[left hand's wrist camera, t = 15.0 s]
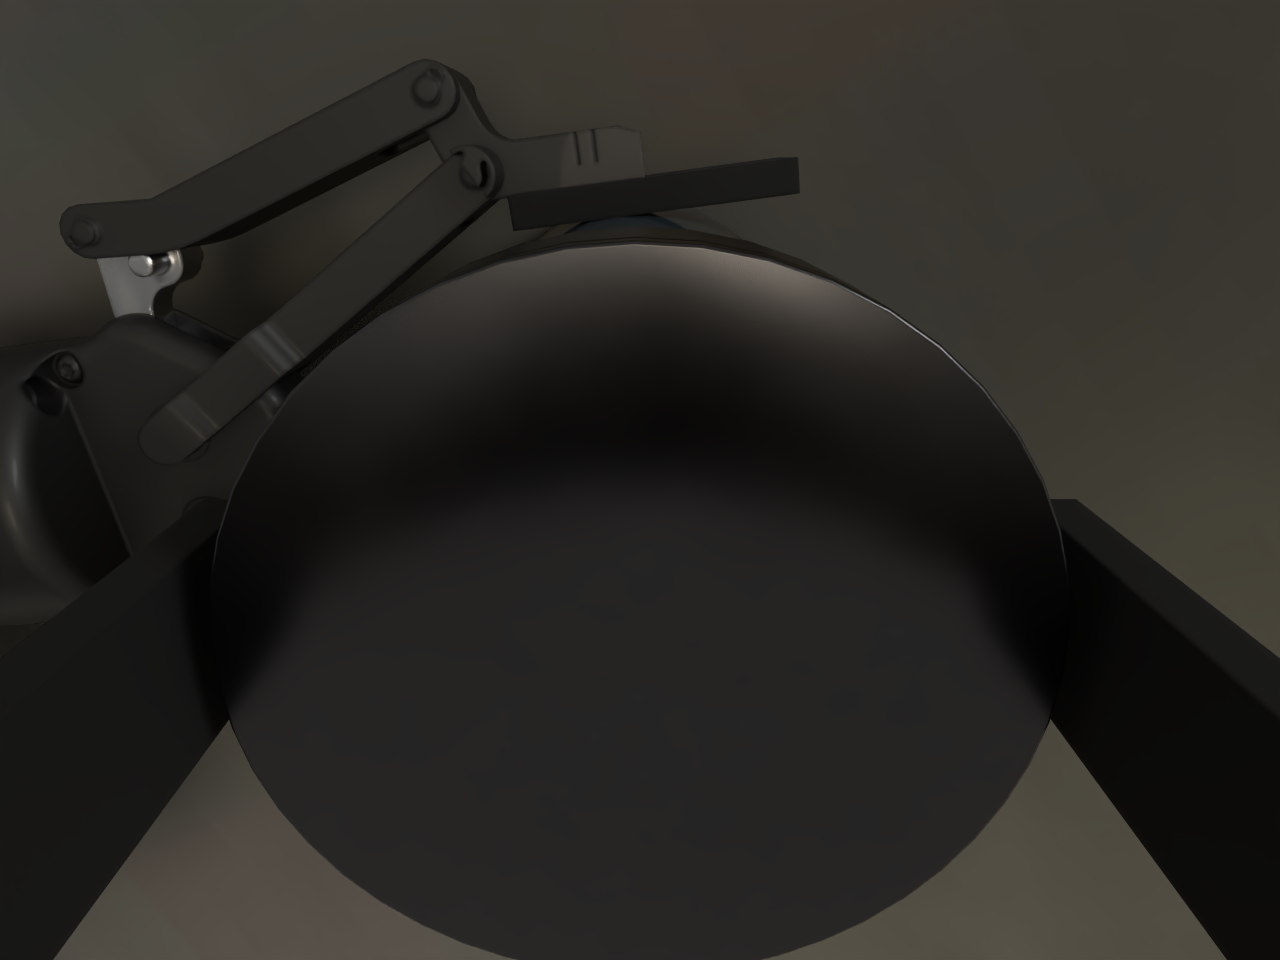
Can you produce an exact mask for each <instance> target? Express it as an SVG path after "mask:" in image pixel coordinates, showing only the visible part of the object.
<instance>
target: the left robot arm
mask: <svg viewBox="0 0 1280 960" xmlns="http://www.w3.org/2000/svg"><path fill="white" fill-rule="evenodd" d="M228 500H229V499H204V500H202V501H201V502H200V503H198V504H197V505H196V506H195V507H193V508H192V509H191V510H190V511H188V512H187V513H186V514H184V515H183V516H182V517H181V518H179V519H178V520H177V521H175V522H174V523H173V524H172V525H170V526H169V527H168V528H166V529H165V530H164V531H163V532H161V533H160V534H159V535H158V536H156V537H155V538H154V539H152V540H151V541H150V542H149V543H147V544H146V545H145V546H143V547H142V548H141V549H140V550H138V551H137V552H136V553H135V554H133V555H132V556H131V557H129V558H128V559H127V560H126V561H124V562H123V563H122V564H120V565H119V566H118V567H117V568H115V569H114V570H113V571H111V572H110V573H109V574H108V575H106V576H105V577H104V578H103V579H101V580H100V581H99V582H97V583H96V584H95V585H94V586H92V587H91V588H90V589H88V590H87V591H86V592H85V593H83V594H82V595H81V596H79V597H78V598H77V599H76V600H74V601H73V602H72V603H71V604H69V605H68V606H67V607H65V608H64V609H63V610H62V611H60V612H59V613H58V614H56V615H55V616H54V617H53V618H51V619H50V620H49V621H47V622H46V623H45V624H44V625H42V626H41V627H40V628H39V629H37V630H36V631H35V632H33V633H32V634H31V635H30V636H28V637H27V638H26V639H24V640H23V641H22V642H21V643H19V644H18V645H17V646H16V647H14V648H13V649H12V650H10V651H9V652H8V653H7V654H5V655H4V656H3V657H1V658H0V960H53V959H54V958H55V956H56V955H57V954H58V952H59V951H60V949H61V948H62V947H63V945H64V944H65V943H66V941H67V940H68V938H69V937H70V936H71V934H72V933H73V932H74V930H75V929H76V928H77V926H78V925H79V923H80V922H81V921H82V919H83V918H84V917H85V915H86V914H87V913H88V911H89V910H90V908H91V907H92V906H93V904H94V903H95V902H96V900H97V899H98V898H99V896H100V895H101V893H102V892H103V891H104V889H105V888H106V887H107V885H108V884H109V883H110V881H111V880H112V878H113V877H114V876H115V874H116V873H117V872H118V870H119V869H120V868H121V866H122V865H123V863H124V862H125V861H126V859H127V858H128V857H129V855H130V854H131V853H132V851H133V850H134V848H135V847H136V846H137V844H138V843H139V842H140V840H141V839H142V837H143V836H144V835H145V833H146V832H147V831H148V829H149V828H150V827H151V825H152V824H153V822H154V821H155V820H156V818H157V817H158V816H159V814H160V813H161V812H162V810H163V809H164V807H165V806H166V805H167V803H168V802H169V801H170V799H171V798H172V797H173V795H174V794H175V792H176V791H177V790H178V788H179V787H180V786H181V784H182V783H183V782H184V780H185V779H186V777H187V776H188V775H189V773H190V772H191V771H192V769H193V768H194V767H195V765H196V764H197V762H198V761H199V760H200V758H201V757H202V756H203V754H204V753H205V751H206V750H207V749H208V747H209V746H210V745H211V743H212V742H213V741H214V739H215V738H216V736H217V735H218V734H219V732H220V731H221V730H222V728H223V727H224V726H225V724H226V723H227V721H228V720H229V717H228V714H227V711H226V708H225V704H224V701H223V698H222V695H221V692H220V689H219V686H218V682H217V676H216V670H215V664H214V658H213V652H212V646H211V640H210V603H209V587H210V580H211V573H212V566H213V559H214V552H215V546H216V539H217V535H218V531H219V528H220V525H221V522H222V519H223V516H224V512H225V509H226V506H227V503H228ZM1050 501H1051V504H1052V506H1053V509H1054V512H1055V515H1056V518H1057V521H1058V524H1059V527H1060V530H1061V536H1062V542H1063V548H1064V553H1065V559H1066V565H1067V571H1068V577H1069V616H1070V631H1069V638H1068V645H1067V652H1066V659H1065V665H1064V672H1063V678H1062V682H1061V685H1060V688H1059V691H1058V695H1057V698H1056V701H1055V705H1054V708H1053V711H1052V715H1051V718H1050V719H1051V720H1052V721H1053V723H1054V724H1055V726H1056V727H1057V728H1058V730H1059V731H1060V732H1061V734H1062V735H1063V736H1064V738H1065V739H1066V741H1067V742H1068V743H1069V745H1070V746H1071V747H1072V749H1073V750H1074V752H1075V753H1076V754H1077V756H1078V757H1079V758H1080V760H1081V761H1082V762H1083V764H1084V765H1085V767H1086V768H1087V769H1088V771H1089V772H1090V773H1091V775H1092V776H1093V777H1094V779H1095V780H1096V782H1097V783H1098V784H1099V786H1100V787H1101V788H1102V790H1103V791H1104V792H1105V794H1106V795H1107V797H1108V798H1109V799H1110V801H1111V802H1112V803H1113V805H1114V806H1115V807H1116V809H1117V810H1118V812H1119V813H1120V814H1121V816H1122V817H1123V818H1124V820H1125V821H1126V822H1127V824H1128V825H1129V827H1130V828H1131V829H1132V831H1133V832H1134V833H1135V835H1136V836H1137V837H1138V839H1139V840H1140V842H1141V843H1142V844H1143V846H1144V847H1145V848H1146V850H1147V851H1148V853H1149V854H1150V855H1151V857H1152V858H1153V859H1154V861H1155V862H1156V863H1157V865H1158V866H1159V868H1160V869H1161V870H1162V872H1163V873H1164V874H1165V876H1166V877H1167V878H1168V880H1169V881H1170V883H1171V884H1172V885H1173V887H1174V888H1175V889H1176V891H1177V892H1178V893H1179V895H1180V896H1181V898H1182V899H1183V900H1184V902H1185V903H1186V904H1187V906H1188V907H1189V908H1190V910H1191V911H1192V913H1193V914H1194V915H1195V917H1196V918H1197V919H1198V921H1199V922H1200V923H1201V925H1202V926H1203V928H1204V929H1205V930H1206V932H1207V933H1208V934H1209V936H1210V937H1211V939H1212V940H1213V941H1214V943H1215V944H1216V945H1217V947H1218V948H1219V949H1220V951H1221V952H1222V954H1223V955H1224V956H1225V958H1226V959H1227V960H1280V658H1279V657H1277V656H1276V655H1275V654H1273V653H1272V652H1271V651H1270V650H1268V649H1267V648H1266V647H1264V646H1263V645H1262V644H1261V643H1259V642H1258V641H1257V640H1256V639H1254V638H1253V637H1252V636H1250V635H1249V634H1248V633H1247V632H1245V631H1244V630H1243V629H1241V628H1240V627H1239V626H1238V625H1236V624H1235V623H1234V622H1232V621H1231V620H1230V619H1229V618H1227V617H1226V616H1225V615H1224V614H1222V613H1221V612H1220V611H1218V610H1217V609H1216V608H1215V607H1213V606H1212V605H1211V604H1209V603H1208V602H1207V601H1206V600H1204V599H1203V598H1202V597H1201V596H1199V595H1198V594H1197V593H1195V592H1194V591H1193V590H1192V589H1190V588H1189V587H1188V586H1186V585H1185V584H1184V583H1183V582H1181V581H1180V580H1179V579H1177V578H1176V577H1175V576H1174V575H1172V574H1171V573H1170V572H1169V571H1167V570H1166V569H1165V568H1163V567H1162V566H1161V565H1160V564H1158V563H1157V562H1156V561H1154V560H1153V559H1152V558H1151V557H1149V556H1148V555H1147V554H1145V553H1144V552H1143V551H1142V550H1140V549H1139V548H1138V547H1137V546H1135V545H1134V544H1133V543H1131V542H1130V541H1129V540H1128V539H1126V538H1125V537H1124V536H1122V535H1121V534H1120V533H1119V532H1117V531H1116V530H1115V529H1114V528H1112V527H1111V526H1110V525H1108V524H1107V523H1106V522H1105V521H1103V520H1102V519H1101V518H1099V517H1098V516H1097V515H1096V514H1094V513H1093V512H1092V511H1090V510H1089V509H1088V508H1087V507H1085V506H1084V505H1083V504H1082V503H1080V502H1079V501H1078V500H1076V499H1050Z"/></svg>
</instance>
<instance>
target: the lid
mask: <svg viewBox="0 0 1280 960" xmlns="http://www.w3.org/2000/svg"><path fill="white" fill-rule="evenodd" d="M209 603H210V640H211V646H212V652H213V658H214V664H215V670H216V676H217V682H218V686H219V689H220V692H221V695H222V698H223V701H224V704H225V708H226V711H227V714H228V717H229V720H230V723H231V726H232V729H233V731H234V733H235V735H236V737H237V739H238V741H239V743H240V745H241V747H242V749H243V751H244V753H245V755H246V757H247V760H248V762H249V764H250V766H251V768H252V770H253V771H254V773H255V774H256V776H257V777H258V779H259V780H260V782H261V783H262V785H263V786H264V788H265V789H266V791H267V792H268V794H269V795H270V797H271V798H272V800H273V801H274V803H275V804H276V806H277V807H278V809H279V810H280V811H281V812H282V813H283V815H284V816H285V817H286V818H287V819H288V820H289V822H290V823H291V824H292V825H293V826H294V827H295V828H296V830H297V831H298V832H299V833H300V834H301V835H302V837H303V838H304V839H305V840H306V841H307V842H308V843H309V844H310V845H311V846H312V847H313V848H314V849H315V850H316V851H317V852H318V853H320V854H321V855H322V856H323V857H324V858H325V859H326V860H327V861H328V862H329V863H331V864H332V865H333V866H334V867H335V868H336V869H337V870H338V871H339V872H340V873H342V874H343V875H344V876H345V877H347V878H348V879H350V880H351V881H352V882H354V883H355V884H356V885H358V886H359V887H361V888H362V889H363V890H365V891H366V892H368V893H369V894H370V895H372V896H373V897H374V898H376V899H377V900H379V901H380V902H382V903H384V904H385V905H387V906H389V907H391V908H392V909H394V910H396V911H398V912H399V913H401V914H403V915H405V916H406V917H408V918H410V919H412V920H413V921H415V922H417V923H419V924H420V925H423V926H425V927H427V928H429V929H432V930H434V931H436V932H438V933H441V934H443V935H445V936H447V937H450V938H452V939H454V940H457V941H459V942H461V943H464V944H467V945H470V946H473V947H476V948H479V949H482V950H485V951H488V952H491V953H494V954H497V955H500V956H503V957H506V958H511V959H515V960H764V959H768V958H772V957H776V956H780V955H783V954H786V953H789V952H792V951H795V950H797V949H800V948H803V947H806V946H809V945H812V944H815V943H818V942H821V941H823V940H826V939H828V938H830V937H832V936H834V935H836V934H839V933H841V932H843V931H845V930H847V929H849V928H852V927H854V926H856V925H858V924H860V923H862V922H865V921H866V920H868V919H870V918H872V917H873V916H875V915H877V914H878V913H880V912H882V911H883V910H885V909H887V908H888V907H890V906H892V905H893V904H895V903H897V902H899V901H900V900H902V899H904V898H905V897H907V896H908V895H909V894H911V893H912V892H913V891H915V890H916V889H917V888H919V887H920V886H921V885H923V884H924V883H925V882H927V881H928V880H929V879H931V878H932V877H933V876H935V875H936V874H937V873H939V872H940V871H941V870H942V869H944V868H945V867H946V866H947V865H948V864H949V863H950V862H951V861H952V860H953V859H954V858H955V857H956V856H957V855H958V854H959V853H961V852H962V851H963V850H964V849H965V848H966V847H967V846H968V845H969V844H970V843H971V842H972V841H973V840H974V839H975V838H976V837H977V836H978V835H979V834H980V832H981V831H982V830H983V829H984V828H985V826H986V825H987V824H988V823H989V822H990V820H991V819H992V818H993V817H994V816H995V814H996V813H997V812H998V811H999V810H1000V808H1001V807H1002V806H1003V805H1004V804H1005V802H1006V801H1007V799H1008V797H1009V796H1010V794H1011V793H1012V791H1013V790H1014V788H1015V787H1016V785H1017V783H1018V782H1019V780H1020V779H1021V777H1022V776H1023V774H1024V772H1025V771H1026V769H1027V768H1028V766H1029V765H1030V763H1031V760H1032V758H1033V756H1034V754H1035V752H1036V750H1037V748H1038V745H1039V743H1040V741H1041V739H1042V737H1043V735H1044V732H1045V730H1046V728H1047V726H1048V724H1049V721H1050V718H1051V715H1052V711H1053V708H1054V705H1055V701H1056V698H1057V695H1058V691H1059V688H1060V685H1061V682H1062V678H1063V672H1064V665H1065V659H1066V652H1067V645H1068V638H1069V631H1070V616H1069V577H1068V571H1067V565H1066V559H1065V553H1064V548H1063V542H1062V536H1061V530H1060V527H1059V524H1058V521H1057V518H1056V515H1055V512H1054V509H1053V506H1052V504H1051V501H1050V498H1049V495H1048V492H1047V489H1046V486H1045V483H1044V480H1043V478H1042V476H1041V474H1040V473H1039V471H1038V469H1037V467H1036V465H1035V463H1034V461H1033V459H1032V458H1031V456H1030V454H1029V452H1028V450H1027V448H1026V446H1025V444H1024V443H1023V441H1022V439H1021V437H1020V435H1019V433H1018V431H1017V430H1016V429H1015V427H1014V426H1013V425H1012V424H1011V422H1010V421H1009V420H1008V418H1007V417H1006V416H1005V414H1004V413H1003V412H1002V410H1001V409H1000V408H999V406H998V405H997V404H996V402H995V401H994V400H993V398H992V397H991V396H990V394H989V393H988V392H987V390H986V389H985V388H984V386H983V385H982V384H980V383H979V382H978V381H977V380H976V379H975V378H974V377H973V376H972V375H971V374H970V373H969V372H968V371H967V370H966V369H965V368H964V367H963V366H962V365H961V364H960V363H959V362H958V361H957V360H956V359H955V358H954V357H953V356H952V355H951V354H950V353H948V352H947V351H946V350H945V349H944V348H943V347H942V346H941V345H940V344H939V343H937V342H936V341H935V340H933V339H932V338H930V337H929V336H928V335H926V334H925V333H923V332H922V331H921V330H919V329H918V328H916V327H915V326H914V325H912V324H911V323H909V322H908V321H907V320H905V319H904V318H902V317H901V316H900V315H898V314H897V313H895V312H894V311H893V310H891V309H890V308H888V307H886V306H885V305H883V304H881V303H880V302H878V301H876V300H875V299H873V298H871V297H870V296H868V295H866V294H865V293H863V292H861V291H860V290H858V289H856V288H855V287H853V286H851V285H850V284H848V283H846V282H844V281H842V280H840V279H838V278H836V277H834V276H832V275H830V274H828V273H826V272H825V271H823V270H821V269H819V268H817V267H815V266H813V265H811V264H809V263H807V262H805V261H803V260H801V259H799V258H796V257H793V256H790V255H787V254H784V253H781V252H778V251H775V250H773V249H770V248H767V247H764V246H761V245H758V244H755V243H752V242H750V241H746V240H741V239H736V238H730V237H725V236H720V235H715V234H710V233H705V232H700V231H695V230H685V229H667V228H650V227H624V228H611V229H599V230H586V231H576V232H572V233H567V234H563V235H558V236H554V237H549V238H545V239H540V240H535V241H531V242H526V243H522V244H520V245H517V246H514V247H511V248H509V249H506V250H503V251H501V252H498V253H495V254H493V255H490V256H487V257H484V258H482V259H479V260H476V261H474V262H471V263H469V264H467V265H465V266H463V267H462V268H460V269H458V270H456V271H454V272H452V273H451V274H449V275H447V276H445V277H443V278H441V279H439V280H438V281H436V282H434V283H432V284H430V285H428V286H427V287H425V288H423V289H421V290H420V291H418V292H416V293H414V294H413V295H411V296H409V297H408V298H406V299H404V300H403V301H401V302H399V303H398V304H396V305H394V306H393V307H391V308H390V309H388V310H386V311H384V312H383V313H381V314H380V315H378V316H377V317H376V318H374V319H373V320H372V321H370V322H369V323H368V324H366V325H365V326H364V327H362V328H361V329H360V330H358V331H357V332H356V333H354V334H353V335H352V336H350V337H349V338H348V339H346V340H345V341H344V342H342V343H341V344H340V345H338V346H337V347H336V348H334V349H333V350H332V351H331V352H330V353H329V354H328V355H327V356H326V357H325V358H324V359H323V360H322V361H321V362H320V363H319V364H318V365H317V366H316V367H315V368H314V369H313V370H312V371H311V372H310V373H309V374H308V375H307V376H306V377H305V378H304V379H303V380H302V381H301V382H300V383H299V384H298V385H297V386H296V387H295V388H294V389H293V390H292V391H291V392H290V393H289V395H288V396H287V398H286V399H285V400H284V402H283V403H282V404H281V406H280V407H279V409H278V410H277V411H276V413H275V414H274V416H273V417H272V418H271V420H270V421H269V422H268V424H267V425H266V427H265V428H264V429H263V431H262V432H261V434H260V435H259V436H258V438H257V439H256V441H255V443H254V445H253V447H252V449H251V451H250V453H249V455H248V457H247V459H246V461H245V463H244V465H243V467H242V469H241V471H240V473H239V475H238V477H237V479H236V481H235V483H234V485H233V487H232V490H231V493H230V497H229V500H228V503H227V506H226V509H225V512H224V516H223V519H222V522H221V525H220V528H219V531H218V535H217V539H216V546H215V552H214V559H213V566H212V573H211V580H210V587H209Z"/></svg>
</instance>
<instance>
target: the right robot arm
mask: <svg viewBox="0 0 1280 960" xmlns="http://www.w3.org/2000/svg"><path fill="white" fill-rule="evenodd" d="M428 140H431V142H432V144H433V146H434V148H435V149H436V151H437V153H438V155H439V156H440V158H441V160H442V162H443V163H442V164H441V165H440V166H439V167H438V168H436V169H435V170H434V171H433V172H432V173H431V174H430V175H429V176H427V177H426V178H425V179H424V180H423V181H422V182H421V183H420V184H418V185H417V186H416V187H415V188H414V189H413V190H412V191H411V192H410V193H408V194H407V195H406V196H405V197H404V198H403V199H402V200H401V201H399V202H398V203H397V204H396V205H395V206H394V207H393V208H392V209H390V210H389V211H388V212H387V213H386V214H385V215H384V216H383V217H382V218H380V219H379V220H378V221H377V222H376V223H375V224H374V225H373V226H371V227H370V228H369V229H368V230H367V231H366V232H365V233H364V234H362V235H361V236H360V237H359V238H358V239H357V240H356V241H355V242H354V243H352V244H351V245H350V246H349V247H348V248H347V249H346V250H345V251H343V252H342V253H341V254H340V255H339V256H338V257H337V258H336V259H334V260H333V261H332V262H331V263H330V264H329V265H328V266H327V267H326V268H324V269H323V270H322V271H321V272H320V273H319V274H318V275H317V276H315V277H314V278H313V279H312V280H311V281H310V282H309V283H308V284H307V285H305V286H304V287H303V288H302V289H301V290H300V291H299V292H298V293H296V294H295V295H294V296H293V297H292V298H291V299H290V300H289V301H287V302H286V303H285V304H284V305H283V306H282V307H281V308H280V309H279V310H277V311H276V312H275V313H274V314H273V315H272V316H271V317H269V318H268V319H267V320H266V321H265V322H263V323H262V324H260V325H259V326H257V327H256V328H254V329H253V330H252V331H250V332H249V333H248V334H246V335H245V336H244V337H243V338H241V339H240V340H239V339H237V338H235V337H233V336H231V335H229V334H227V333H225V332H223V331H221V330H218V329H216V328H214V327H212V326H210V325H208V324H206V323H204V322H202V321H200V320H198V319H196V318H194V317H192V316H190V315H188V314H186V313H184V312H182V311H180V310H177V309H174V308H173V305H172V296H173V292H174V290H175V288H176V287H177V286H178V285H179V284H180V283H182V282H185V281H187V280H190V279H192V278H194V277H195V276H196V275H197V274H198V273H199V271H200V269H201V264H202V260H203V258H204V257H203V251H202V249H201V247H200V246H201V245H206V244H211V243H215V242H219V241H223V240H227V239H230V238H233V237H235V236H238V235H240V234H243V233H245V232H247V231H249V230H251V229H253V228H255V227H257V226H259V225H261V224H263V223H265V222H267V221H269V220H271V219H273V218H275V217H277V216H279V215H281V214H283V213H285V212H287V211H289V210H291V209H293V208H295V207H297V206H299V205H301V204H303V203H305V202H307V201H309V200H311V199H313V198H315V197H317V196H319V195H321V194H323V193H325V192H327V191H329V190H331V189H333V188H335V187H337V186H339V185H341V184H343V183H345V182H347V181H349V180H351V179H353V178H355V177H357V176H358V175H360V174H362V173H364V172H366V171H368V170H370V169H372V168H374V167H376V166H378V165H380V164H382V163H384V162H386V161H388V160H390V159H392V158H394V157H396V156H398V155H400V154H402V153H404V152H406V151H408V150H410V149H412V148H414V147H416V146H418V145H420V144H422V143H424V142H426V141H428ZM798 193H800V190H799V169H798V157H787V158H771V159H764V160H756V161H749V162H742V163H734V164H727V165H719V166H712V167H704V168H697V169H690V170H682V171H675V172H667V173H660V174H652V175H645V167H644V158H643V150H642V141H641V132H638V131H634V130H631V129H627V128H624V127H620V126H611V127H604V128H597V129H589V130H582V131H575V132H568V133H560V134H553V135H546V136H538V137H531V138H524V139H517V140H511V139H508V138H506V137H504V136H502V135H500V134H499V133H498V132H497V131H496V130H495V129H494V128H493V126H492V125H491V123H490V122H489V120H488V118H487V116H486V114H485V112H484V111H483V109H482V107H481V105H480V103H479V101H478V99H477V96H476V93H475V89H474V86H473V85H472V83H471V82H470V80H469V79H468V78H467V77H466V76H464V75H463V74H461V73H460V72H458V71H456V70H454V69H451V68H449V67H447V66H445V65H443V64H441V63H439V62H437V61H434V60H428V59H422V60H418V61H414V62H412V63H410V64H408V65H406V66H404V67H403V68H401V69H399V70H397V71H395V72H393V73H391V74H389V75H387V76H385V77H383V78H381V79H380V80H378V81H376V82H374V83H372V84H370V85H368V86H366V87H364V88H362V89H360V90H358V91H357V92H355V93H353V94H351V95H349V96H347V97H345V98H343V99H341V100H339V101H337V102H335V103H334V104H332V105H330V106H328V107H326V108H324V109H322V110H320V111H318V112H316V113H314V114H312V115H311V116H309V117H307V118H305V119H303V120H301V121H299V122H297V123H295V124H293V125H291V126H289V127H288V128H286V129H284V130H282V131H280V132H278V133H276V134H274V135H272V136H270V137H268V138H266V139H265V140H263V141H261V142H259V143H257V144H255V145H253V146H251V147H249V148H247V149H245V150H243V151H242V152H240V153H238V154H236V155H234V156H232V157H230V158H228V159H226V160H224V161H222V162H221V163H219V164H217V165H215V166H213V167H211V168H209V169H207V170H205V171H203V172H201V173H199V174H198V175H196V176H194V177H192V178H190V179H188V180H186V181H184V182H182V183H180V184H178V185H176V186H175V187H173V188H171V189H169V190H167V191H165V192H163V193H161V194H159V195H157V196H155V197H153V198H152V199H140V200H128V201H115V202H103V203H91V204H79V205H75V206H72V207H69V208H68V209H67V210H66V211H65V212H64V213H63V214H62V216H61V220H60V223H59V224H60V232H61V235H62V237H63V239H64V241H65V243H66V245H67V246H68V247H69V248H70V249H71V250H72V251H73V252H74V253H76V254H78V255H80V256H82V257H84V258H91V259H97V261H98V264H99V268H100V271H101V274H102V277H103V280H104V284H105V287H106V290H107V293H108V296H109V300H110V303H111V306H112V309H113V313H114V316H115V318H114V319H113V320H111V321H109V322H108V323H107V324H106V325H105V326H104V327H103V328H102V329H101V330H100V331H98V332H97V333H96V334H94V335H93V336H86V337H78V338H71V339H63V340H55V341H47V342H40V343H32V344H24V345H17V346H9V347H1V348H0V626H17V625H26V624H35V623H44V622H47V621H49V620H50V619H51V618H53V617H54V616H55V615H56V614H58V613H59V612H60V611H62V610H63V609H64V608H65V607H67V606H68V605H69V604H71V603H72V602H73V601H74V600H76V599H77V598H78V597H79V596H81V595H82V594H83V593H85V592H86V591H87V590H88V589H90V588H91V587H92V586H94V585H95V584H96V583H97V582H99V581H100V580H101V579H103V578H104V577H105V576H106V575H108V574H109V573H110V572H111V571H113V570H114V569H115V568H117V567H118V566H119V565H120V564H122V563H123V562H124V561H126V560H127V559H128V558H129V557H131V556H132V555H133V554H135V553H136V552H137V551H138V550H140V549H141V548H142V547H143V546H145V545H146V544H147V543H149V542H150V541H151V540H152V539H154V538H155V537H156V536H158V535H159V534H160V533H161V532H163V531H164V530H165V529H166V528H168V527H169V526H170V525H172V524H173V523H174V522H175V521H177V520H178V519H179V518H181V517H182V516H183V515H184V514H186V513H187V512H188V511H190V510H191V509H192V508H193V507H195V506H196V505H197V504H198V503H200V502H201V501H202V500H204V499H229V497H230V493H231V490H232V487H233V485H234V483H235V481H236V479H237V477H238V475H239V473H240V471H241V469H242V467H243V465H244V463H245V461H246V459H247V457H248V455H249V453H250V451H251V449H252V447H253V445H254V443H255V441H256V439H257V438H258V436H259V435H260V434H261V432H262V431H263V429H264V428H265V427H266V425H267V424H268V422H269V421H270V420H271V418H272V417H273V416H274V414H275V413H276V411H277V410H278V409H279V407H280V406H281V404H282V403H283V402H284V400H285V399H286V398H287V396H288V395H289V393H290V392H291V391H292V390H293V389H294V388H295V387H296V386H297V385H298V384H299V383H300V382H301V381H302V380H303V379H304V377H303V376H302V375H301V374H300V373H301V372H302V371H303V370H304V369H305V368H306V367H308V366H309V365H310V364H311V363H312V362H313V361H315V360H316V359H317V358H318V357H319V356H320V355H322V354H323V353H324V352H325V351H326V350H327V349H329V348H330V347H331V346H332V345H333V344H334V343H335V342H336V341H337V339H338V338H339V337H341V336H342V335H343V334H344V333H345V332H346V331H348V330H349V329H350V328H351V327H352V326H353V325H355V324H356V323H357V322H358V321H359V320H360V319H362V318H363V317H364V316H365V315H366V314H367V313H368V312H370V311H371V310H372V309H373V308H374V307H375V306H377V305H378V304H379V303H380V302H381V301H382V300H384V299H385V298H386V297H387V296H388V295H389V294H391V293H392V292H393V291H394V290H395V289H396V288H398V287H399V286H400V285H401V284H402V283H403V282H405V281H406V280H407V279H408V278H409V277H410V276H411V275H413V274H414V273H415V272H416V271H417V270H418V269H420V268H421V267H422V266H423V265H424V264H425V263H427V262H428V261H429V260H430V259H431V258H432V257H434V256H435V255H436V254H437V253H438V252H439V251H441V250H442V249H443V248H444V247H445V246H446V245H448V244H449V243H450V242H451V241H452V240H453V239H455V238H456V237H457V236H458V235H459V234H460V233H461V232H463V231H464V230H465V229H466V228H467V227H468V226H470V225H471V224H472V223H473V222H474V221H475V220H477V219H478V218H479V217H480V216H481V215H482V214H484V213H485V212H486V211H487V210H488V209H489V208H491V207H492V206H493V205H494V204H495V203H496V202H498V201H499V200H500V199H502V198H508V203H509V208H510V214H511V220H512V225H513V231H518V230H526V229H533V228H541V227H549V226H556V225H564V224H571V223H579V222H586V221H594V220H602V219H609V218H616V217H624V216H632V215H639V214H647V213H654V212H662V211H670V210H677V209H685V208H692V207H700V206H707V205H715V204H722V203H730V202H738V201H745V200H753V199H760V198H768V197H775V196H783V195H790V194H798Z"/></svg>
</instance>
